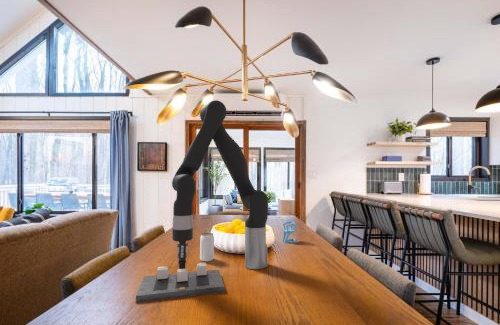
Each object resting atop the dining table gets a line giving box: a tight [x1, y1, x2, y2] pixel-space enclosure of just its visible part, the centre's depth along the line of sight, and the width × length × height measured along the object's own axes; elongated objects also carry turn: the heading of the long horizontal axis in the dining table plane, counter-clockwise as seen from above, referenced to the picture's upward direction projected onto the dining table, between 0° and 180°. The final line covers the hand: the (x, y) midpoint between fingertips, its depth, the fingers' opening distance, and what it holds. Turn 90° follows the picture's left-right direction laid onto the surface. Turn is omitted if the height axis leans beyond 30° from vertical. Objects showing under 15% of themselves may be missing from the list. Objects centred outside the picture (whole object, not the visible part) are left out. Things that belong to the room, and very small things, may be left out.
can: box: [199, 232, 215, 263], centre depth 121 cm, size 6×6×12 cm
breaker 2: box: [196, 262, 208, 276], centre depth 97 cm, size 4×2×4 cm, turn 104°
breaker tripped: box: [176, 268, 189, 282], centre depth 91 cm, size 4×2×4 cm, turn 104°
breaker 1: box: [156, 265, 169, 279], centre depth 94 cm, size 4×2×4 cm, turn 104°
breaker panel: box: [135, 269, 225, 303], centre depth 91 cm, size 28×16×2 cm, turn 104°
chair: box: [282, 221, 300, 244], centre depth 154 cm, size 8×8×12 cm
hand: (182, 273), depth 96 cm, fingers closed
